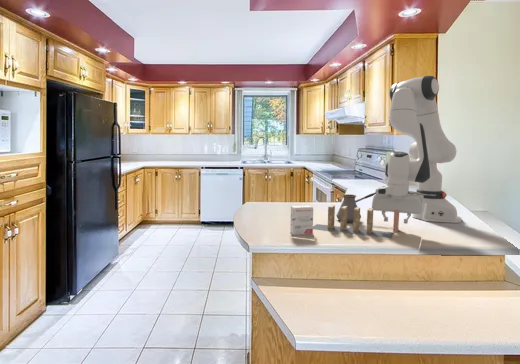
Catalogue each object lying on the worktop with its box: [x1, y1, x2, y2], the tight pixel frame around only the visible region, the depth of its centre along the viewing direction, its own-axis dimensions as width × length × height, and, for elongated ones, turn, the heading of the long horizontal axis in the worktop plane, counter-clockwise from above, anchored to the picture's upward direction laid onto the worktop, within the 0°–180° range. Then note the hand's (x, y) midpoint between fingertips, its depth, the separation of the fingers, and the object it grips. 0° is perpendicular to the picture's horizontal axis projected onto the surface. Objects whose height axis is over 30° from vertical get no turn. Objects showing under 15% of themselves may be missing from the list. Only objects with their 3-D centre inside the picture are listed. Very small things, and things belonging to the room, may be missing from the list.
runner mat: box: [313, 223, 395, 239], centre depth 165 cm, size 34×10×1 cm, turn 64°
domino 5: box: [392, 210, 400, 233], centre depth 165 cm, size 2×5×10 cm, turn 155°
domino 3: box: [352, 206, 361, 233], centre depth 164 cm, size 2×5×10 cm, turn 155°
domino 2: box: [339, 206, 348, 231], centre depth 166 cm, size 2×5×10 cm, turn 154°
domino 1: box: [327, 204, 336, 230], centre depth 169 cm, size 2×5×10 cm, turn 154°
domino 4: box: [366, 207, 374, 234], centre depth 161 cm, size 2×5×10 cm, turn 154°
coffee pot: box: [335, 191, 376, 224], centre depth 184 cm, size 21×12×15 cm, turn 94°
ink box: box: [289, 205, 314, 236], centre depth 161 cm, size 9×5×12 cm, turn 101°
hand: (395, 222), depth 166 cm, fingers open, 7 cm apart
